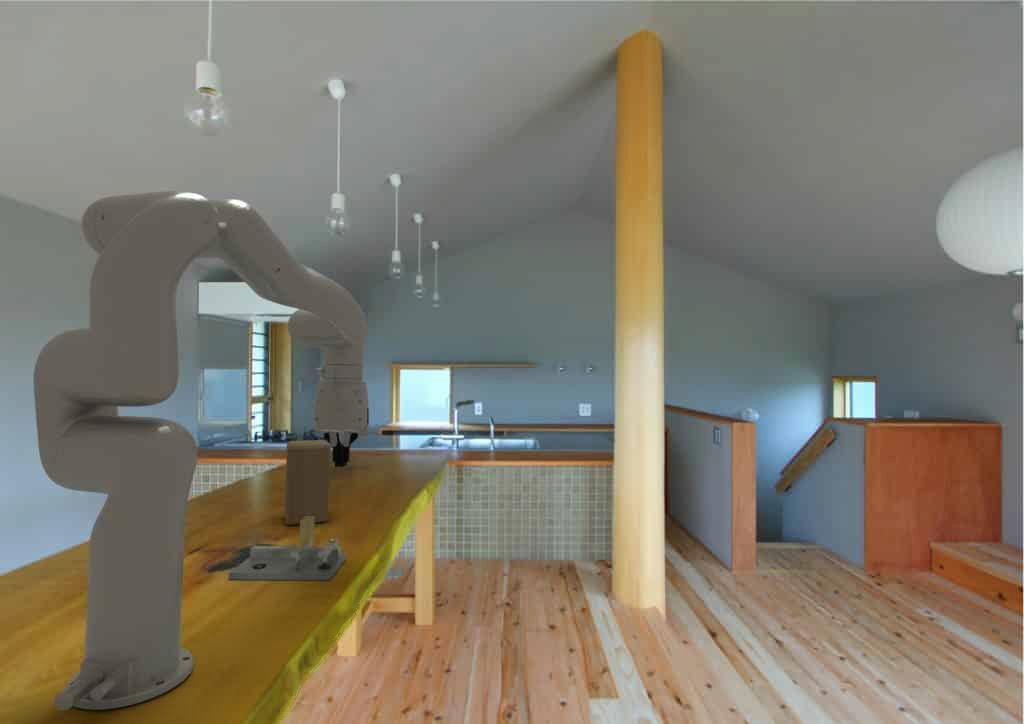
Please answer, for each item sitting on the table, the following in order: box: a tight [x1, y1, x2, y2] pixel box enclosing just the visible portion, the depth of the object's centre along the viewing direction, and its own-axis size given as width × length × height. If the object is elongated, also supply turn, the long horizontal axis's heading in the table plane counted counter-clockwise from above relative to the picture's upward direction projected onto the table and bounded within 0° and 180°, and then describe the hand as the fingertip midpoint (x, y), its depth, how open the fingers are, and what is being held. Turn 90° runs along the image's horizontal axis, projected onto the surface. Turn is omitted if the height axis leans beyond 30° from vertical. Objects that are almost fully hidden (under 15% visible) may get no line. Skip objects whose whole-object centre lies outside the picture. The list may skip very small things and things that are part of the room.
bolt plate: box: [228, 537, 347, 581], centre depth 105 cm, size 12×18×5 cm, turn 93°
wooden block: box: [283, 439, 331, 526], centre depth 141 cm, size 10×10×20 cm
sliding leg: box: [291, 516, 315, 566], centre depth 105 cm, size 8×2×8 cm, turn 3°
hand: (340, 465), depth 109 cm, fingers closed
